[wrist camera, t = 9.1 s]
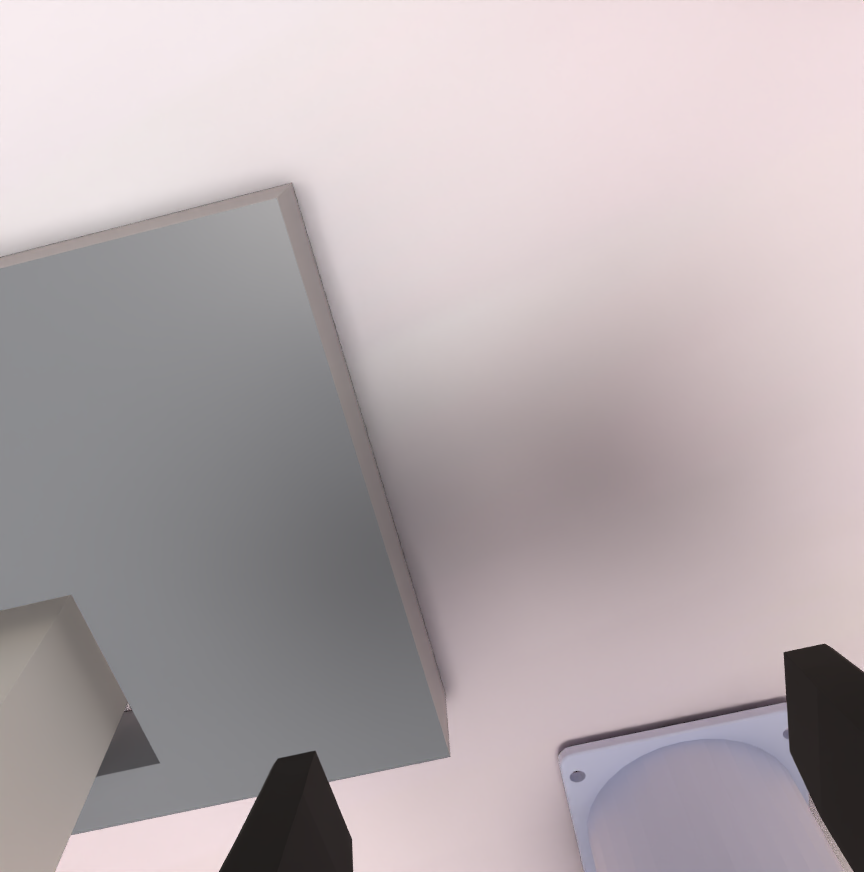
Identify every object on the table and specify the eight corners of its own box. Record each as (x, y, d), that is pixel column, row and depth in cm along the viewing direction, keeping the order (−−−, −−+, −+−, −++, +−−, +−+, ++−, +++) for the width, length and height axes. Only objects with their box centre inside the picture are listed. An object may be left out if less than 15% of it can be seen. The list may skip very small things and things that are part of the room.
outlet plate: (445, 694, 25) (450, 756, 23) (-28, 794, 26) (-69, 864, 24) (291, 182, 18) (276, 197, 16) (-336, 343, 19) (-434, 378, 17)
